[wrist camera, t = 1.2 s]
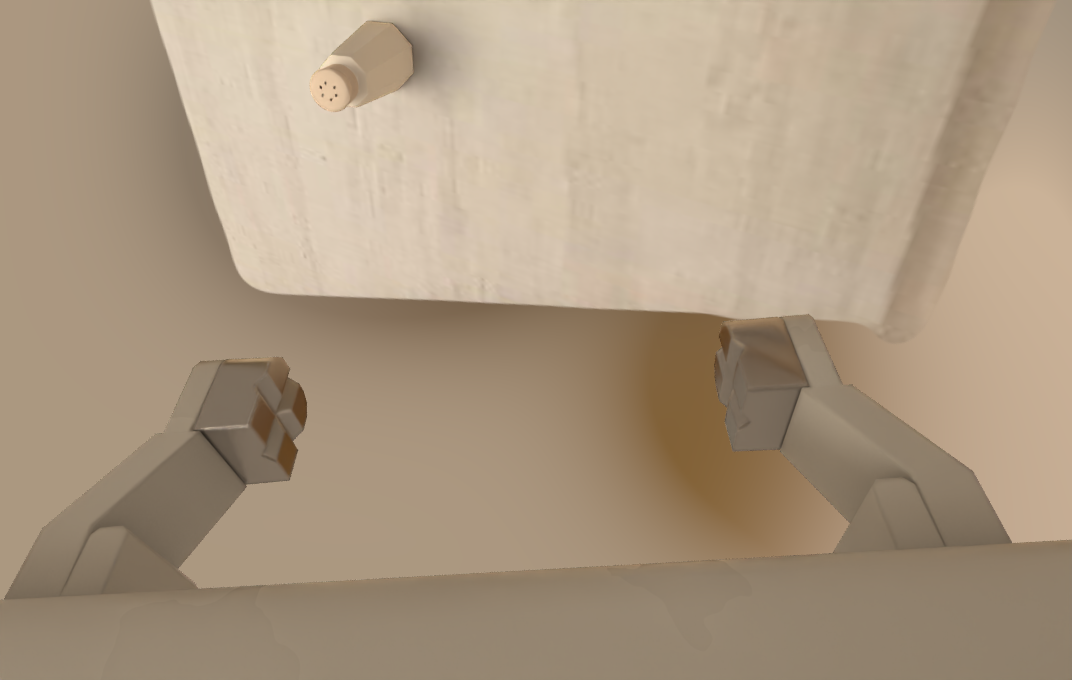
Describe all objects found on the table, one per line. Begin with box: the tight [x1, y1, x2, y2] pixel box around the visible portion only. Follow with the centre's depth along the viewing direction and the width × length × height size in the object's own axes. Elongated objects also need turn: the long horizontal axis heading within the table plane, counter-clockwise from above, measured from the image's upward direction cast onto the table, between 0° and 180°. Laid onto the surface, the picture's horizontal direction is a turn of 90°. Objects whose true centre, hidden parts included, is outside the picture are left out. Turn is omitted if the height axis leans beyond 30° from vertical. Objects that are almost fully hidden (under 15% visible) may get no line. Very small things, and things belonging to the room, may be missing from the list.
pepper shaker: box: [310, 21, 413, 112], centre depth 47 cm, size 5×5×11 cm
